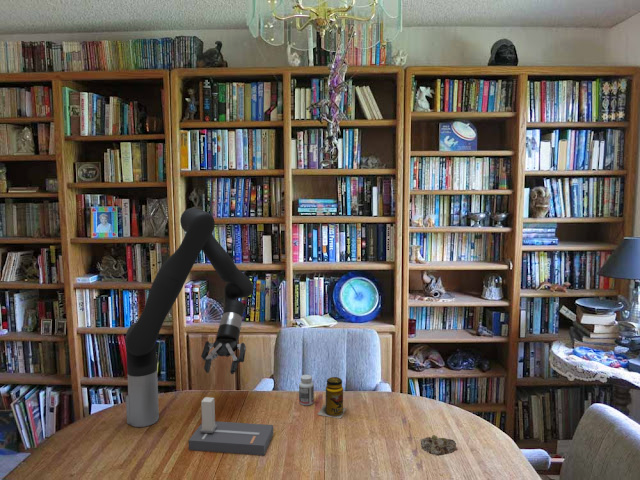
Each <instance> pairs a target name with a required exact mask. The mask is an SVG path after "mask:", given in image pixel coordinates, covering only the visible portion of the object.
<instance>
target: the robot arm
mask: <svg viewBox="0 0 640 480" xmlns="http://www.w3.org/2000/svg"><path fill="white" fill-rule="evenodd" d="M179 221H180V222H179V223H180V227H181V229H182V230H183V231H184V232H185V235H184V237H183V239H182V241H181V243H180V245H179V247H178V248H177V249H176V250H175V251H174V252H173V253H172V254H171V256H169V257H168V258H167V259H166V260H165V261H164V262H163V263H162V264H161V266H160V268H159V270H158V272H157V273H156V276H155V277H154V280H153V282H152V284H151V287H150V289H149V292H148V296H147V298H146V301H145V305H144V308H143V310H142V312H141V314H140V316H139V318H138V319H137V321H136V322H135V323H133V324H131V325H130V326H129V327H128V329H127V331H126V333H125V346H126V373H127V393H128V394H127V395H126V396H125V407H126V409H125V410H126V413H125V414H126V423H127V425H130V426H132V427H134V428H135V427H136V428H144V427H148V426H151V425H153V424H155V423H157V422H158V421H159V420H160V419H159V418H160V417H159V416H160V411H159V407H160V405H159V387H158V386H159V385H158V384H159V383H158V365H157V364H158V363H157V362H158V361H157V360H158V359H157V344H156V342H157V340H158V337H159V335H160V331H161V329H162V326H163V323H164V321H166V320H165V319H166V317H167V316H168V315H169V312H170V311H171V309H172V308H173V306H174V304H175V302H176V301H177V299H178V297H179V295H180V293H181V291H182V290H183V287H184V285H185V283H186V281H187V279H188V276H189V275H190V273H191V270H192V268H193V267H194V264H195V263H196V261H197V258H198V257H199V255H200V254H201V252H203V254H204V255H205V257H206V258H207V260H208V261H209V263H210V265H211V266H212V268H213V269H214V271H215V272H216V274H217V275H218V276H219V278H220V279H221V280H222V282H225V283H226V284H225V285H224V291H223V292H224V294H223V295H224V308H223V311H222V316H221V319H220V321H219V325H218V329H217V333H216V337H215V341H214V342H210V341H206V342H205V344H204V347H203V349H202V353H201V356H200V357H201V358H202V360H203V361H205V363H204V366H203V367H204V368H203V369H204V371H205V373H206V374H207V373H208V374H209V373H210V370H211V366H212V361H213V360H214V359H217V358H218V357H227V358H228V357H230V356H231V358H232V361H231V367H230V370H229V371H230V374H231V375H234V374H235V373H236V372H237V369H238V364H239V363H244V362H245V357H246V356H245V355H246V349H247V346H246V344H245V343H244V342H241V343H238V342H239V338H240V333H241V330H242V324H243V317H244V312H245V305H244V303H243V302H242V301H241V300H238V299H242V298H243V299H244V298H249V297H250V296H252V295H253V292H254V284H253V282H252V280H251V279H250V278H249V277H248V276H247V275H246V274H245V273H244V272H243V271H241V270H240V269H239V268H238V267H237V265H236V263H235V262H234V260H233V258H232V257H231V256H230V255H229V253H228V252H227V250H226V249H225V248H224V247H223V246H222V245H221V244H220V242H219V241H218V240H217V239H216V238H215V236H214V235H213V232H214V229H215V226H216V223H215V222H216V221H215V219H214V216H213V215H212V213H209V212H207V211H205V210H203V209H200V208H197V207H190V208H187V209H185V210H184V211H183V212H182V214H181V215H180V219H179ZM210 350H211V351H210ZM236 350H239V355H238V357H237V356H236V354H235V352H236Z"/></svg>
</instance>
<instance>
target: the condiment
mask: <svg viewBox="0 0 640 480" xmlns="http://www.w3.org/2000/svg"><path fill="white" fill-rule="evenodd" d="M346 409H347V408H345V407H344V387H343V381H342V379H341V378H340V377H339V376H338V377H337V376H331V377H329V378H327V379H326V386H325V404H323V405H322V407H321V408H320V410H319V411H318V412H317V415H318V416H324V417H330V418H336V419H342V417H343V416H344V414H345V412H346Z"/></svg>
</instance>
